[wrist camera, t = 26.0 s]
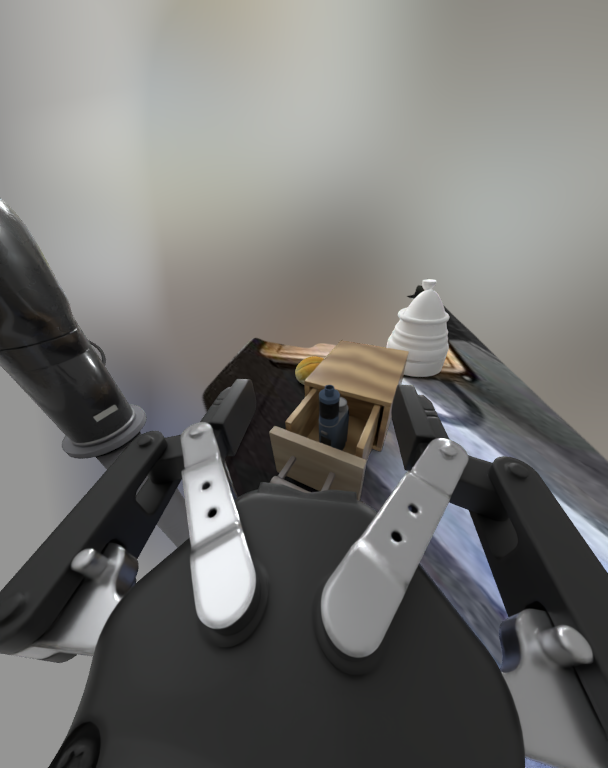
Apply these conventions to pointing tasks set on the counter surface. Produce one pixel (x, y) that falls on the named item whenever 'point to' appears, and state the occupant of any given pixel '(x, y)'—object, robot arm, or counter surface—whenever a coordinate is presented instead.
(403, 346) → the honey pot
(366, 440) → the drawer
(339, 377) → the cabinet
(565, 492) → the counter surface
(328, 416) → the vaping device
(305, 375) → the bread roll
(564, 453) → the counter surface
